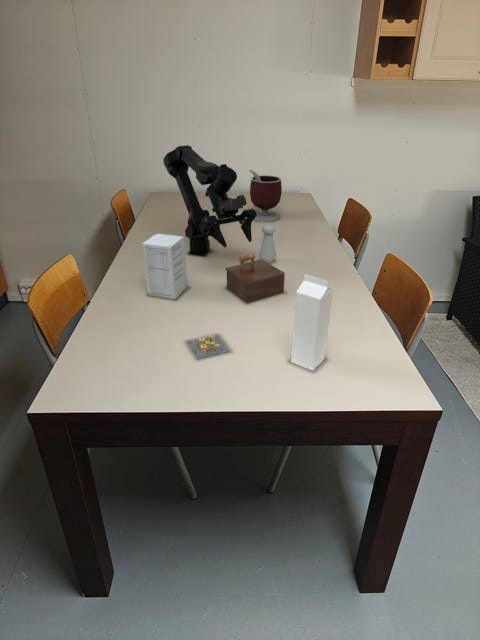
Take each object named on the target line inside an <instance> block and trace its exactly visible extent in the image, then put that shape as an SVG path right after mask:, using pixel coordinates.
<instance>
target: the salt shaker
mask: <svg viewBox="0 0 480 640" xmlns="http://www.w3.org/2000/svg"><path fill="white" fill-rule="evenodd" d="M275 232H276V227H275V226H274V225H272V224H266V225H263V226H262V233H263V237H262V241H261V245H260V249H259V254H258V255H259V260H260V259H262V260H264V261H266V262H267V263H269V264H272V263H274V262H275V259H276V257H277V254H276V246H275V240H274V234H275Z"/></svg>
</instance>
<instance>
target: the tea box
mask: <svg viewBox="0 0 480 640" xmlns="http://www.w3.org/2000/svg"><path fill="white" fill-rule="evenodd" d="M285 275H286V274H285ZM285 275H282V276H278V277H274V278H271V279H267V280H263V281H259V282H256V283H252V284H248V285H247V284H245V283H244V282H242V281H241V280H239V279H238V278H236V277H235V276H233V275H232V274H231V273H229V272H228V271H226V289H227V290H228V291H229V292H231V293H232V294H234V295H235V296H236V297H237V298H239V299H240V300H241V301H243V302H244V303H245V304H250V303H253V302H257V301H260V300H263V299H267V298H271V297H273V296H277V295H280V294H283V293H284V292H285V277H286V276H285Z"/></svg>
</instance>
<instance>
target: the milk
mask: <svg viewBox="0 0 480 640" xmlns="http://www.w3.org/2000/svg"><path fill="white" fill-rule="evenodd" d="M333 294H334V289H332V288H331V287H329V280H326V279H323V278H319V277H317V276H312V275H310V274H306V273H305V274H304V275H303V280H302V282H301V284H300V285H299V287H298V289H297V290H296V293H295V306H294V318H293V328H292V329H293V331H292V343H291V355H290V362H291V363H293V364H295V365H296V366H297V365H298V366H299V367H302V368H304V369H307V370H309V371H312V372H313V371H314V370H315V369H316V368H317V367H318V366H319V365H321V363H322V362H323V361H324V360H325V358H326V350H327V342H328V335H329V334H328V333H329V326H330V317H331V309H332V301H333Z"/></svg>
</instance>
